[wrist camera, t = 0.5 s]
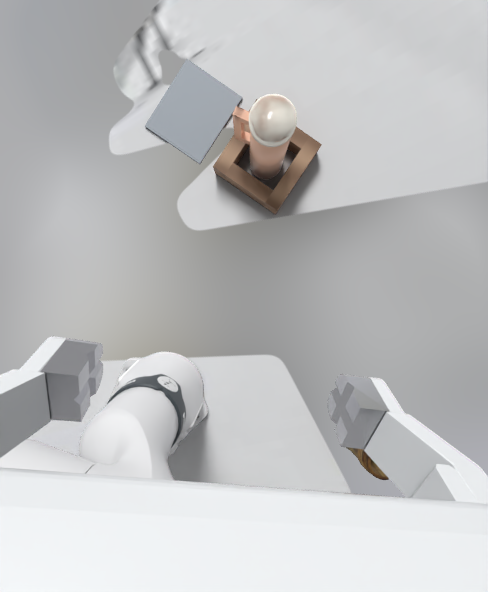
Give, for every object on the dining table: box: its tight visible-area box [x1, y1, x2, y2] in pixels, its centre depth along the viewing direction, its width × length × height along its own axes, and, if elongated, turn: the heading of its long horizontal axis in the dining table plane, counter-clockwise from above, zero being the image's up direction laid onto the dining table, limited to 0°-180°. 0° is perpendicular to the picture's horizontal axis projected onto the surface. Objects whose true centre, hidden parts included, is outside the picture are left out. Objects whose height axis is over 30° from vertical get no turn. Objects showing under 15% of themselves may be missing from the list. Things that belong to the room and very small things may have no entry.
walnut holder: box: [213, 100, 322, 214], centre depth 55 cm, size 14×14×4 cm
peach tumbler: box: [233, 94, 297, 180], centre depth 48 cm, size 9×6×16 cm
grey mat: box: [145, 59, 242, 164], centre depth 56 cm, size 14×12×1 cm
